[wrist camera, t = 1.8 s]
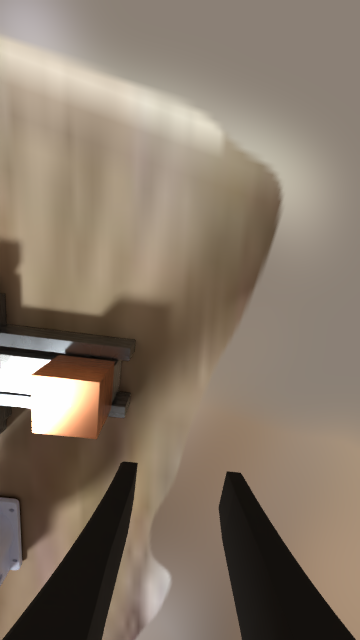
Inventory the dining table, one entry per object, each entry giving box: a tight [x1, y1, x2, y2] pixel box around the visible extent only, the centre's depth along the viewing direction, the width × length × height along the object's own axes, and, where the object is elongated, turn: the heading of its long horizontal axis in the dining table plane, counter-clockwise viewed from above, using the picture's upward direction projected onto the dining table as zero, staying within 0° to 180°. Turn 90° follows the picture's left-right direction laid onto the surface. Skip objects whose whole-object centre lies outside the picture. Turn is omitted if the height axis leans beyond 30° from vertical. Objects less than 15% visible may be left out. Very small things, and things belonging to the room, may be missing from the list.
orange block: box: [0, 346, 121, 439], centre depth 15 cm, size 4×11×5 cm, turn 83°
